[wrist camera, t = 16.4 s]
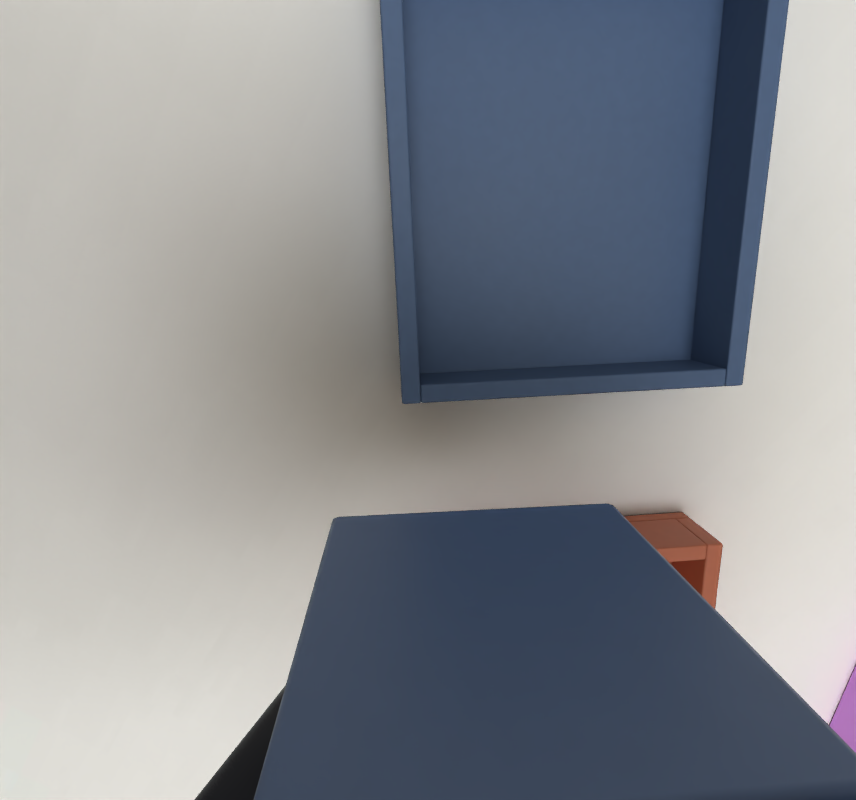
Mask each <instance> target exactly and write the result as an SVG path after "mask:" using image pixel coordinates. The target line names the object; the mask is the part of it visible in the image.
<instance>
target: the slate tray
mask: <svg viewBox="0 0 856 800" xmlns="http://www.w3.org/2000/svg"><path fill="white" fill-rule="evenodd" d="M788 4H789V0H380V14H381V32H382V50H383V68H384V86H385V104H386V122H387V140H388V158H389V176H390V193H391V211H392V229H393V247H394V265H395V283H396V301H397V319H398V337H399V355H400V373H401V391H402V403H403V404H412V403H420V402H422V403H429V402H447V401H465V400H483V399H501V398H519V397H537V396H555V395H573V394H591V393H609V392H627V391H645V390H663V389H681V388H699V387H717V386H737V385H742V383H743V375H744V367H745V359H746V350H747V342H748V334H749V326H750V317H751V309H752V301H753V293H754V284H755V276H756V268H757V260H758V251H759V243H760V235H761V227H762V218H763V210H764V202H765V194H766V185H767V177H768V169H769V161H770V152H771V144H772V136H773V128H774V119H775V111H776V103H777V95H778V86H779V78H780V70H781V62H782V53H783V45H784V37H785V29H786V20H787V12H788Z"/></svg>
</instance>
